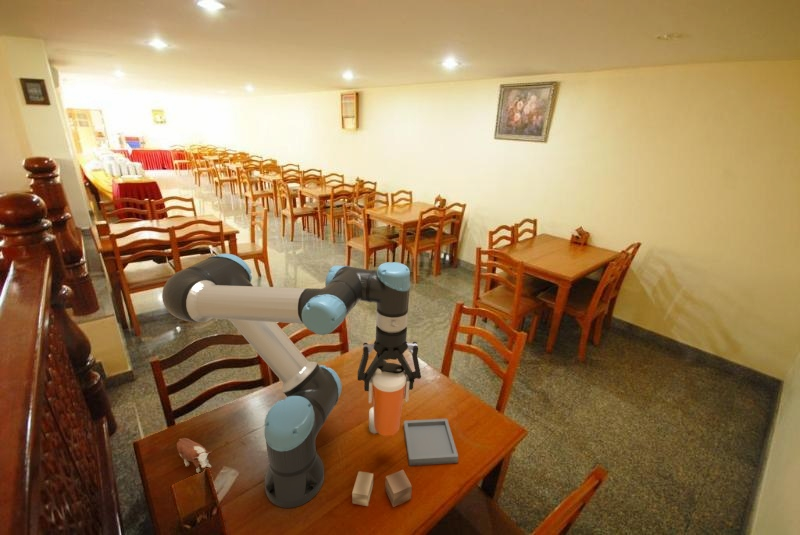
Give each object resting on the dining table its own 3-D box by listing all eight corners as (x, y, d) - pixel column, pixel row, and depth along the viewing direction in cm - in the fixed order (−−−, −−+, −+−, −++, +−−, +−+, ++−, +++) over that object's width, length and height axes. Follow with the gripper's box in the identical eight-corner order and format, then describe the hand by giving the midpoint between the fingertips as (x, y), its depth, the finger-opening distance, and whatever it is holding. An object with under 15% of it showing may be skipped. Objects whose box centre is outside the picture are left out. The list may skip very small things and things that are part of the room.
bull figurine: (204, 485, 91) (199, 463, 88) (176, 460, 98) (171, 438, 95) (220, 472, 95) (215, 450, 92) (192, 449, 101) (187, 427, 98)
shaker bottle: (399, 442, 92) (403, 380, 85) (366, 435, 94) (367, 374, 86) (405, 416, 100) (410, 358, 93) (375, 410, 102) (377, 353, 94)
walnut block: (393, 507, 88) (393, 493, 86) (385, 489, 92) (385, 476, 91) (410, 499, 90) (411, 485, 88) (402, 482, 94) (403, 469, 93)
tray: (409, 465, 99) (409, 459, 98) (403, 426, 112) (403, 420, 111) (457, 462, 101) (458, 456, 100) (446, 424, 114) (447, 418, 113)
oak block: (352, 503, 89) (352, 492, 87) (358, 481, 94) (358, 471, 93) (367, 506, 88) (367, 495, 87) (373, 484, 94) (373, 473, 92)
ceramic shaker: (369, 433, 109) (369, 416, 106) (368, 423, 113) (369, 406, 110) (382, 433, 109) (382, 415, 107) (381, 423, 113) (381, 406, 111)
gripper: (345, 334, 80) (346, 410, 89) (438, 333, 83) (430, 407, 91) (347, 318, 87) (347, 390, 96) (432, 317, 90) (425, 387, 98)
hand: (388, 398), depth 93 cm, fingers closed on shaker bottle, 9 cm apart
